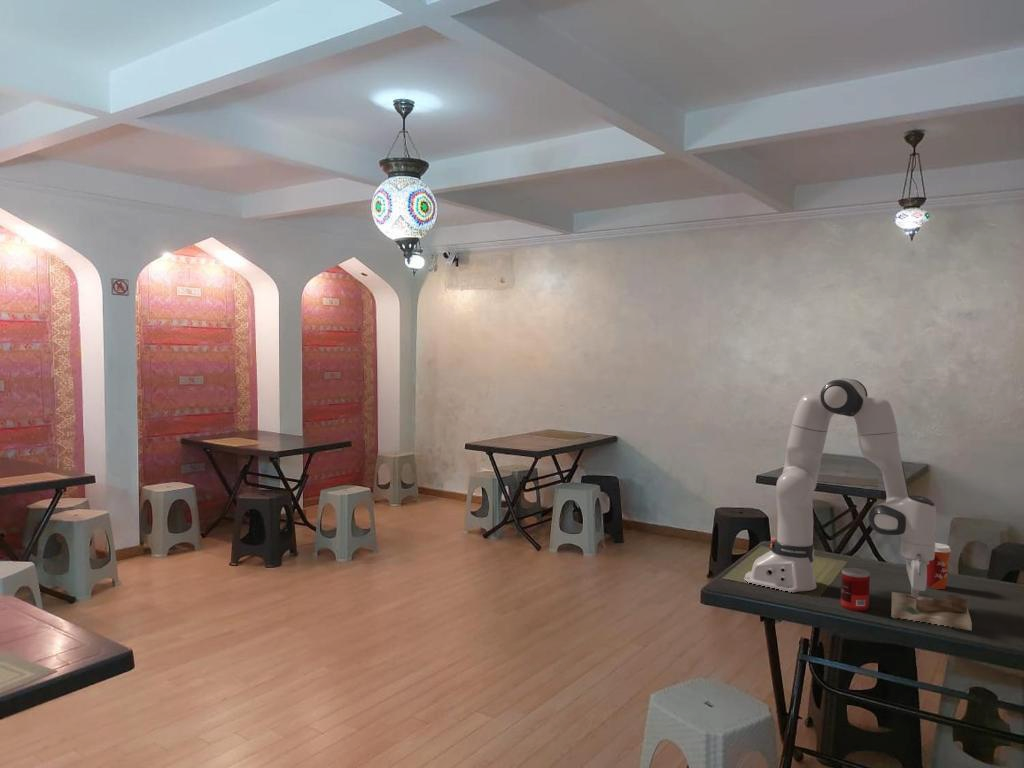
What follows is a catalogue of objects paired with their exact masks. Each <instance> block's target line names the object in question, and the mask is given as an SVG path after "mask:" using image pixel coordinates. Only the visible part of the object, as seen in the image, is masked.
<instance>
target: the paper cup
mask: <svg viewBox="0 0 1024 768" xmlns="http://www.w3.org/2000/svg"><path fill="white" fill-rule="evenodd" d="M951 552H952V549H951V547H950V546H949V545H948V544H945V543H939V542H935V556H934V560H931V561H929V564H928V565H926V566H927V582H926V587H927V586H929V587H932V588H935V589H934V590H937V589H944V590H946V588H947V581H948V575H949V573H948V572H949V564H950V555H951ZM929 587H928V588H929ZM932 588H931V589H932Z"/></svg>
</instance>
